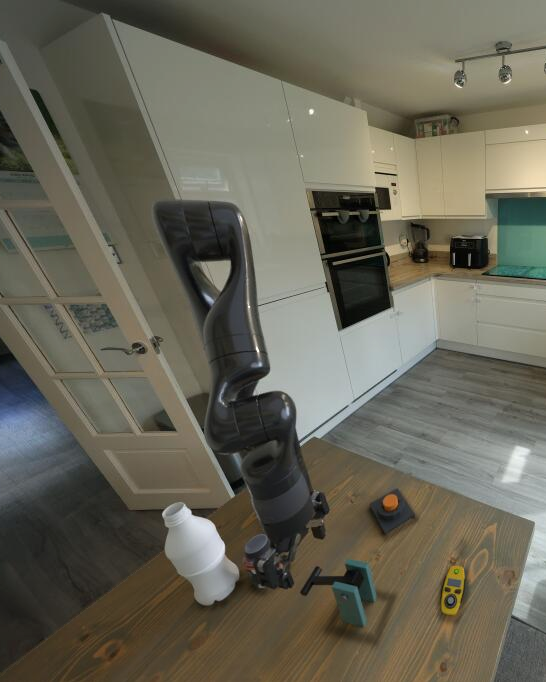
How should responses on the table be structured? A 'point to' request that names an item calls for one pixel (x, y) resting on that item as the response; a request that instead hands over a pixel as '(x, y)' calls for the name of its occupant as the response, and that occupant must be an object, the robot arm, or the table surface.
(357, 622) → the pair of teal panels
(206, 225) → the robot arm
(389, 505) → the button
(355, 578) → the lever
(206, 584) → the water bottle
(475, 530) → the table surface
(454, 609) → the remote control
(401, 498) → the control block
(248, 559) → the supplement bottle
